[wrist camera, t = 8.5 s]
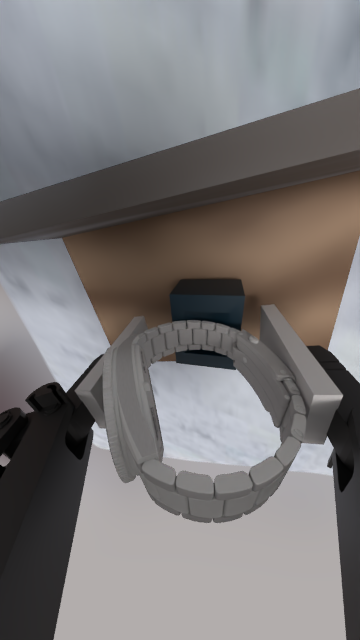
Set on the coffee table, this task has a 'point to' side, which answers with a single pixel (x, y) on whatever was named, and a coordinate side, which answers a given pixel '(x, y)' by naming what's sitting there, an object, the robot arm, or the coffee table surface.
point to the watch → (203, 350)
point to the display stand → (215, 221)
